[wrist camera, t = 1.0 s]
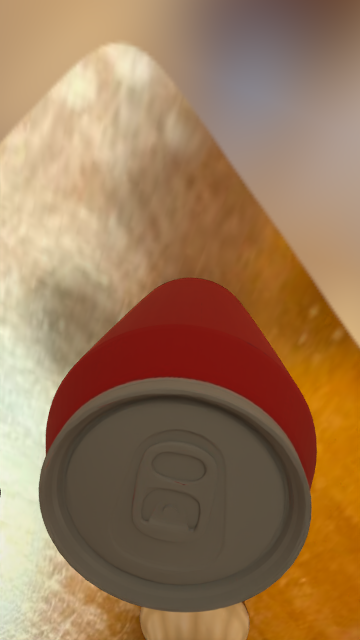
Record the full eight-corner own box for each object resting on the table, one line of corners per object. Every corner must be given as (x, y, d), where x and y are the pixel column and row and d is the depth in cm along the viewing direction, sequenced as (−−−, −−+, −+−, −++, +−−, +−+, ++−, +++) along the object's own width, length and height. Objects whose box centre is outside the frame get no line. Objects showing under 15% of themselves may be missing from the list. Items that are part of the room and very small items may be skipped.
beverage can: (127, 376, 18) (0, 604, 7) (141, 266, 17) (4, 317, 5) (236, 396, 18) (299, 663, 7) (262, 286, 17) (406, 388, 5)
